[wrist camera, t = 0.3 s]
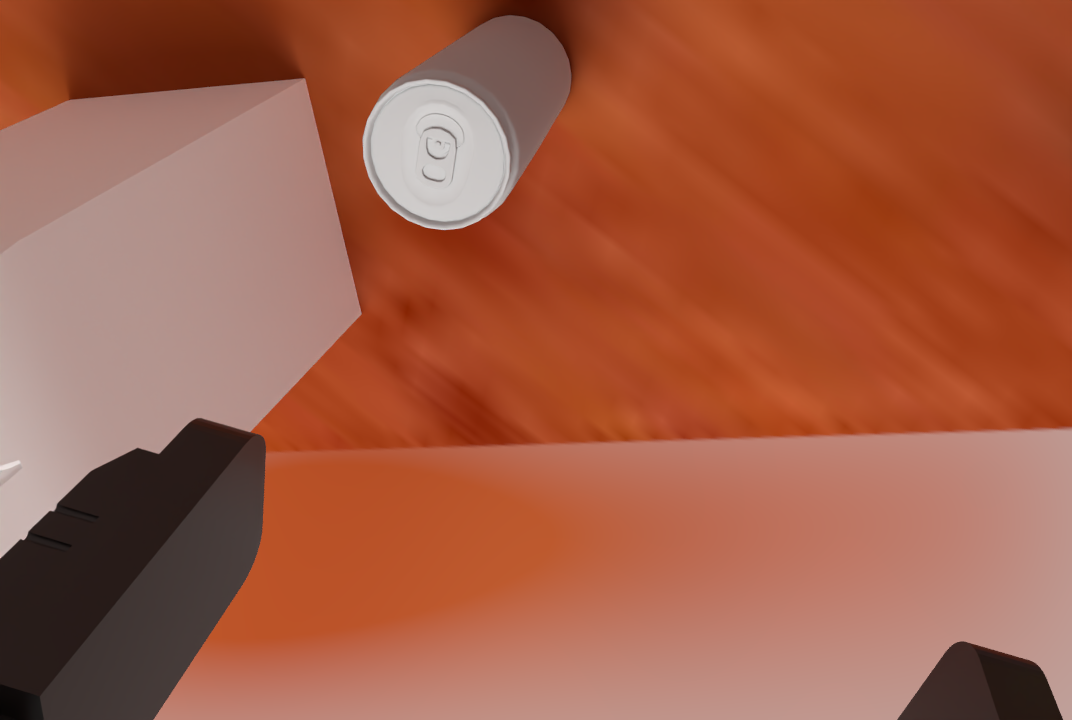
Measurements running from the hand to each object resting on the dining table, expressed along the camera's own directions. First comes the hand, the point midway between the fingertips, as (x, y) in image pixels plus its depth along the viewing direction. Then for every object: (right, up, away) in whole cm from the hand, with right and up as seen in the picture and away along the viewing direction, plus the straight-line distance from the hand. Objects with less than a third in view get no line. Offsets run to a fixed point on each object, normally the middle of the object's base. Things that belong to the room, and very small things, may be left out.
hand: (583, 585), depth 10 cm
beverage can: (-1, +15, +26) cm, 30 cm away
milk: (-16, +10, +31) cm, 37 cm away
